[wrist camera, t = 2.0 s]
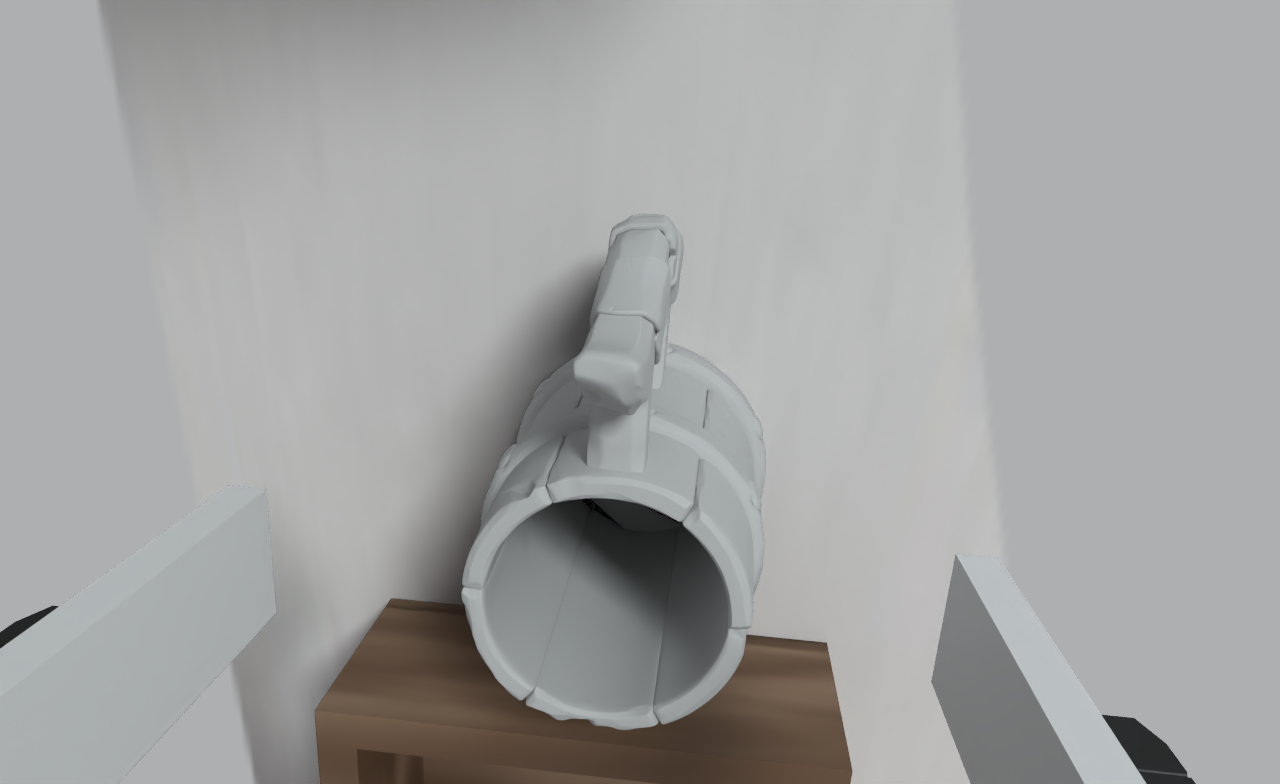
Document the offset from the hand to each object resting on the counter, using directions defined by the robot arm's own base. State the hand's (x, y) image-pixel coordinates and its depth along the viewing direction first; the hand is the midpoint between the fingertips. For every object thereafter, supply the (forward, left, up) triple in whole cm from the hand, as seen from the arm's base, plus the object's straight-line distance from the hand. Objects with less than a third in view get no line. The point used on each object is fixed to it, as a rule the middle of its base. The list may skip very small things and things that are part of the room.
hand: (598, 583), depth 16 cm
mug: (0, 0, -12) cm, 12 cm away
